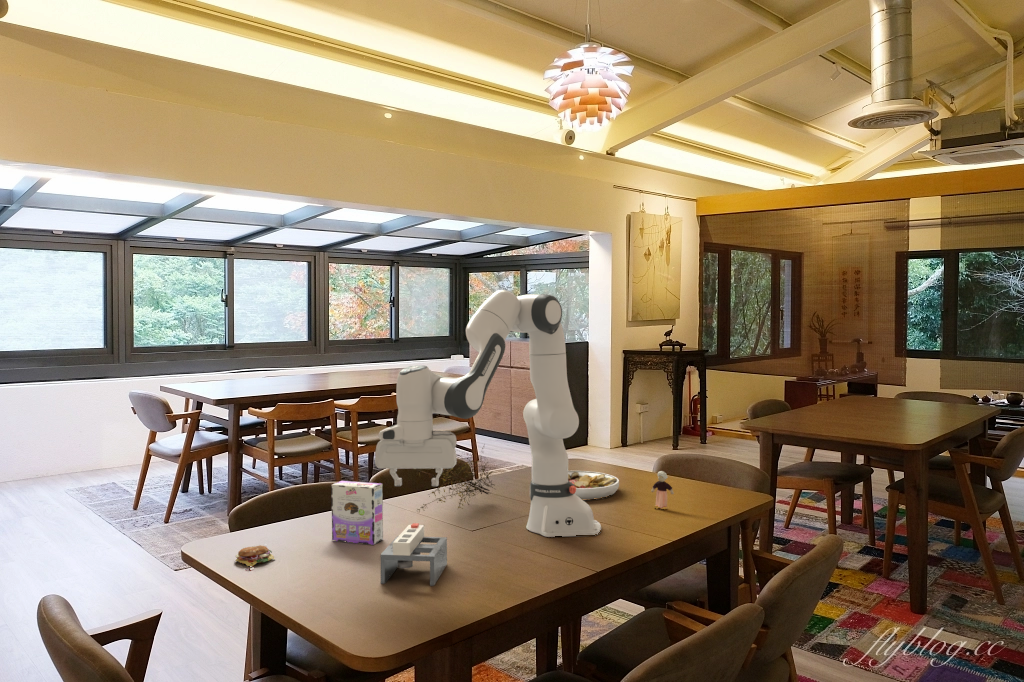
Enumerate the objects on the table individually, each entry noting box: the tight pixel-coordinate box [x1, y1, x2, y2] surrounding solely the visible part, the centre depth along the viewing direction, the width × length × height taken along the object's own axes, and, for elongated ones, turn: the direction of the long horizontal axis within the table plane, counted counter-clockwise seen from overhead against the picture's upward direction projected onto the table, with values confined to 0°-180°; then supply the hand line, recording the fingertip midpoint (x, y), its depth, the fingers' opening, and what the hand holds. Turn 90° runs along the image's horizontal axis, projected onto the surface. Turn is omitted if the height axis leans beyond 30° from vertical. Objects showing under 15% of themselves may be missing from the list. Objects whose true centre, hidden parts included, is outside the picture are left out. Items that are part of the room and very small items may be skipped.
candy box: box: [330, 480, 384, 546], centre depth 202 cm, size 14×6×16 cm, turn 71°
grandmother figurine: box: [650, 470, 675, 509], centre depth 236 cm, size 8×4×13 cm, turn 68°
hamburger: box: [235, 544, 275, 570], centre depth 183 cm, size 14×14×6 cm
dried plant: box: [415, 443, 496, 513], centre depth 228 cm, size 30×31×45 cm
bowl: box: [568, 470, 620, 499], centre depth 260 cm, size 30×30×8 cm
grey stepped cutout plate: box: [380, 535, 448, 587], centre depth 176 cm, size 13×15×7 cm
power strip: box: [393, 522, 425, 569], centre depth 176 cm, size 4×15×7 cm, turn 174°
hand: (416, 485), depth 178 cm, fingers open, 8 cm apart
